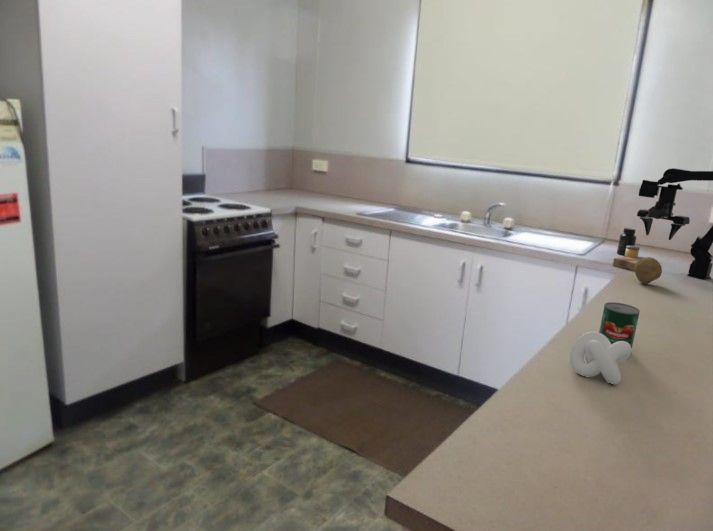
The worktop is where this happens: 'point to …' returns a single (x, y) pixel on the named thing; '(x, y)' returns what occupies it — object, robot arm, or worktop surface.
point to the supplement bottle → (626, 240)
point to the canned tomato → (619, 322)
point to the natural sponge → (647, 270)
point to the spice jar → (632, 251)
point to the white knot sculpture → (599, 356)
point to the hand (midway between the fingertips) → (658, 237)
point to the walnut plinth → (625, 263)
